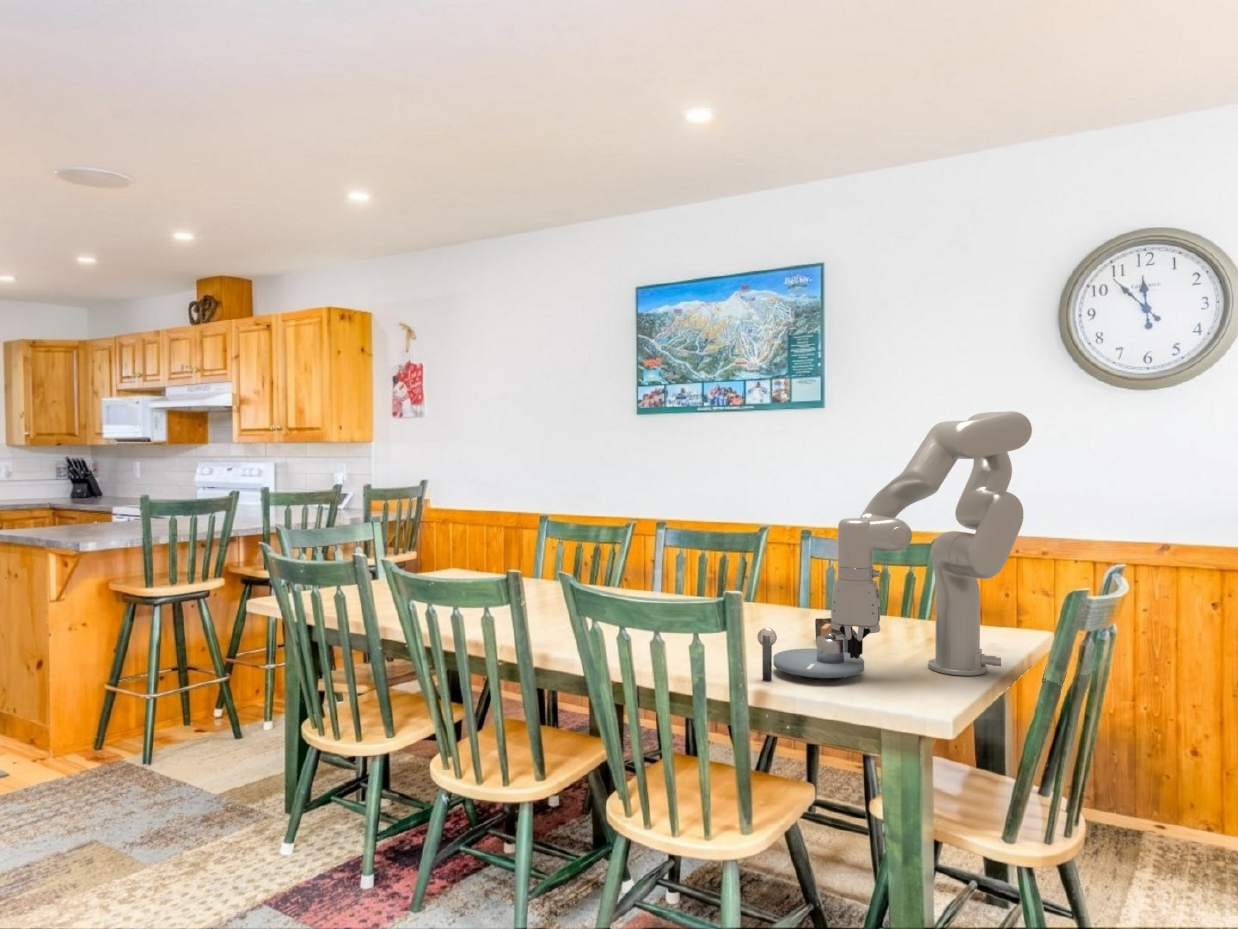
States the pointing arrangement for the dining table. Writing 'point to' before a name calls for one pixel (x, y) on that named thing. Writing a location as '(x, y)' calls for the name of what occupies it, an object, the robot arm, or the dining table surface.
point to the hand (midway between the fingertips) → (855, 656)
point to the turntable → (816, 663)
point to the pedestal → (818, 678)
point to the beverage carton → (821, 622)
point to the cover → (830, 649)
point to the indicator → (767, 651)
